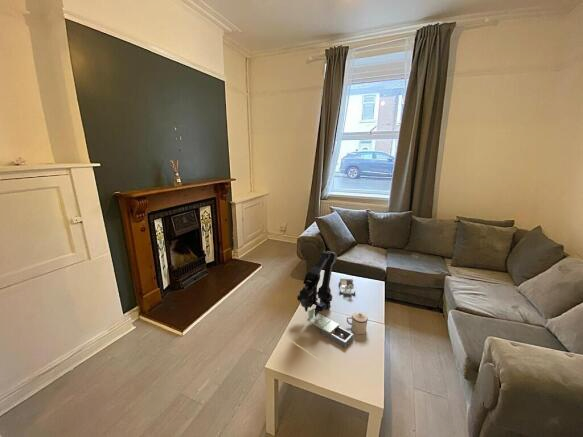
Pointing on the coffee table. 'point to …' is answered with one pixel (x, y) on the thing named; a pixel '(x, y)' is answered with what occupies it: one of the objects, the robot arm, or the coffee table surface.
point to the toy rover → (346, 286)
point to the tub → (335, 337)
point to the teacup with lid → (358, 322)
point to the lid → (321, 321)
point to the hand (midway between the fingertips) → (311, 313)
